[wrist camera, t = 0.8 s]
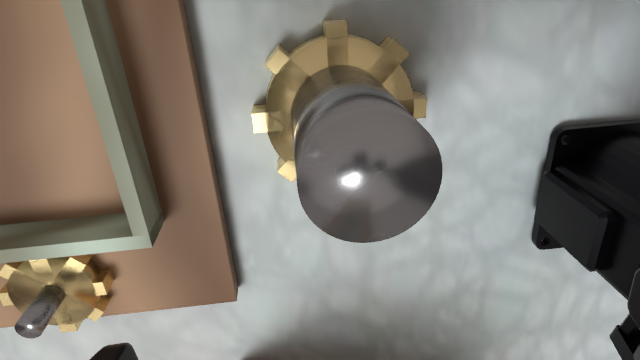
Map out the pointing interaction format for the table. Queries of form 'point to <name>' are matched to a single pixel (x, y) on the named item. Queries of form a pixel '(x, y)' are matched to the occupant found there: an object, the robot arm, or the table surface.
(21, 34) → the gear board
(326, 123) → the brass gear
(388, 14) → the table surface
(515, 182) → the table surface
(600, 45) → the table surface
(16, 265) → the gear
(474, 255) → the table surface
